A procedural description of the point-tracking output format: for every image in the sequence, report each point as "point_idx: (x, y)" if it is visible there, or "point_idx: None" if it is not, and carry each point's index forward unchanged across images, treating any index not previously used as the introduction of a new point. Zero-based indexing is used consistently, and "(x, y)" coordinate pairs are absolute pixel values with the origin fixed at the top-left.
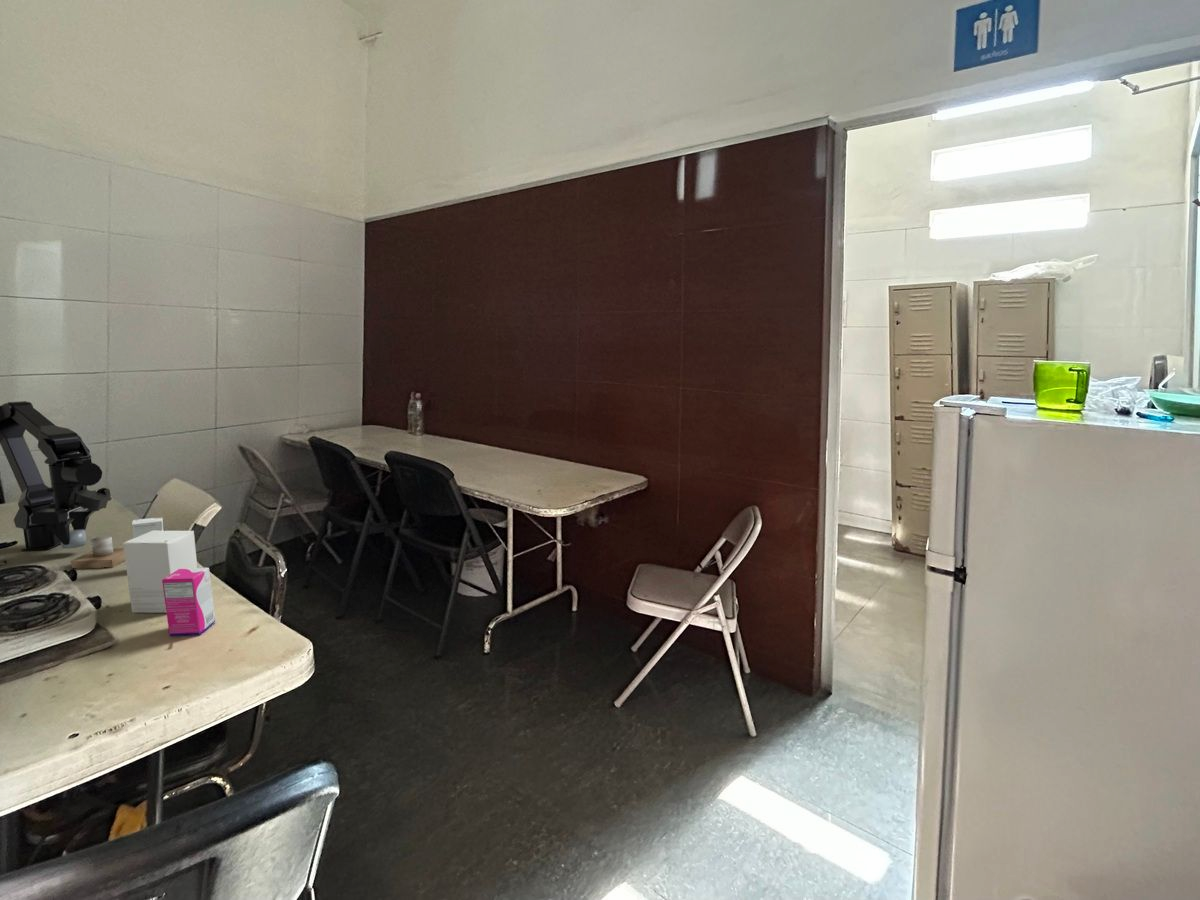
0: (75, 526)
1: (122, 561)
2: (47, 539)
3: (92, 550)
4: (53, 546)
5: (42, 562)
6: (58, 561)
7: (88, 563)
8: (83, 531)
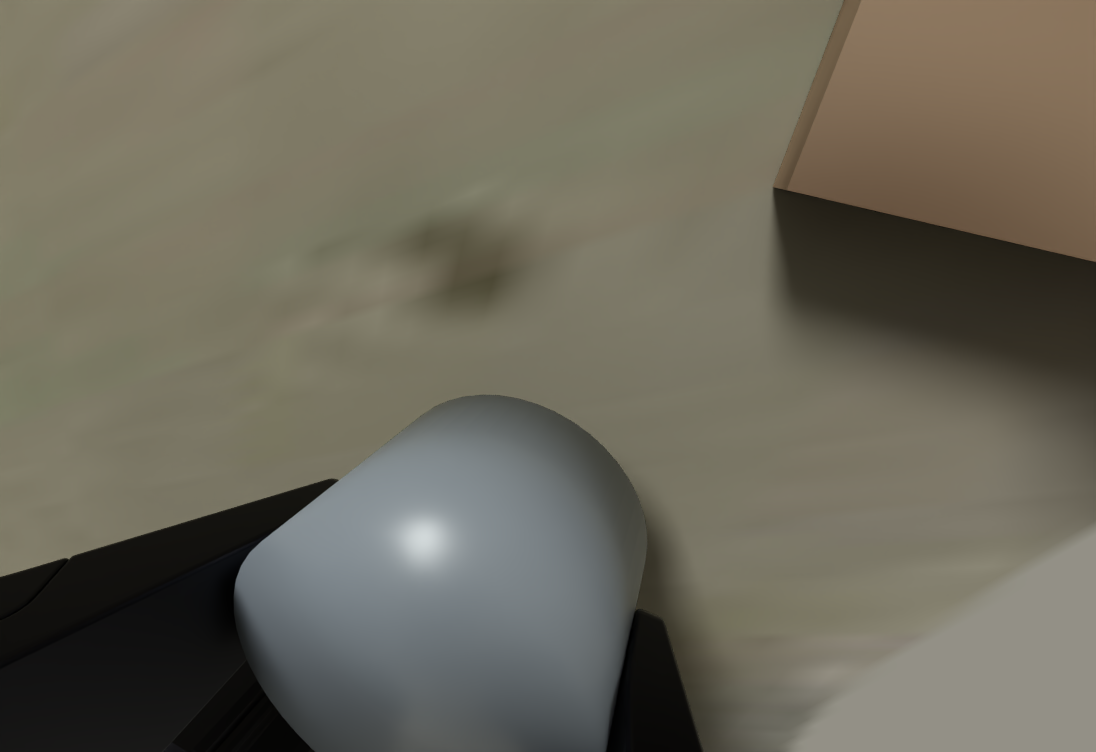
0: (173, 703)
1: None
2: (278, 711)
3: (887, 212)
4: None
5: (746, 673)
6: (786, 564)
7: None
8: (375, 546)
